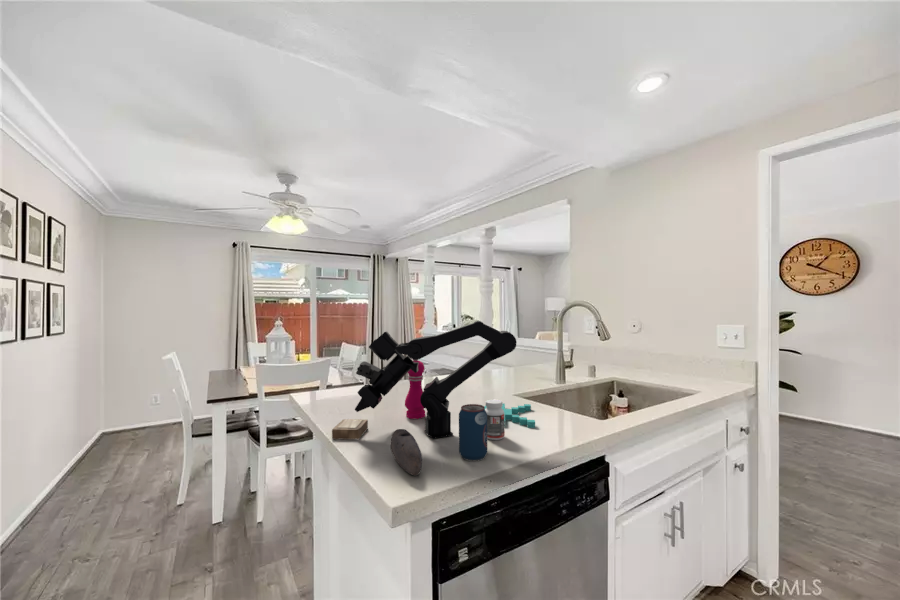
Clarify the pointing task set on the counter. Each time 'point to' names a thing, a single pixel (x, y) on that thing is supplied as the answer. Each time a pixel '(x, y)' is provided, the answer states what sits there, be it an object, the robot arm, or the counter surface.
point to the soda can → (473, 432)
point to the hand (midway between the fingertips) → (356, 410)
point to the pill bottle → (495, 419)
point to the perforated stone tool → (406, 451)
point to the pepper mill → (415, 393)
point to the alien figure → (516, 418)
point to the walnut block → (349, 429)
